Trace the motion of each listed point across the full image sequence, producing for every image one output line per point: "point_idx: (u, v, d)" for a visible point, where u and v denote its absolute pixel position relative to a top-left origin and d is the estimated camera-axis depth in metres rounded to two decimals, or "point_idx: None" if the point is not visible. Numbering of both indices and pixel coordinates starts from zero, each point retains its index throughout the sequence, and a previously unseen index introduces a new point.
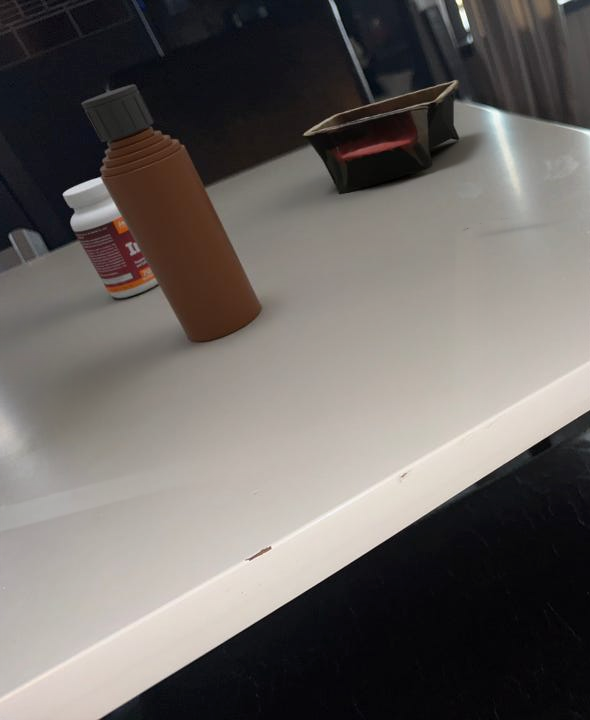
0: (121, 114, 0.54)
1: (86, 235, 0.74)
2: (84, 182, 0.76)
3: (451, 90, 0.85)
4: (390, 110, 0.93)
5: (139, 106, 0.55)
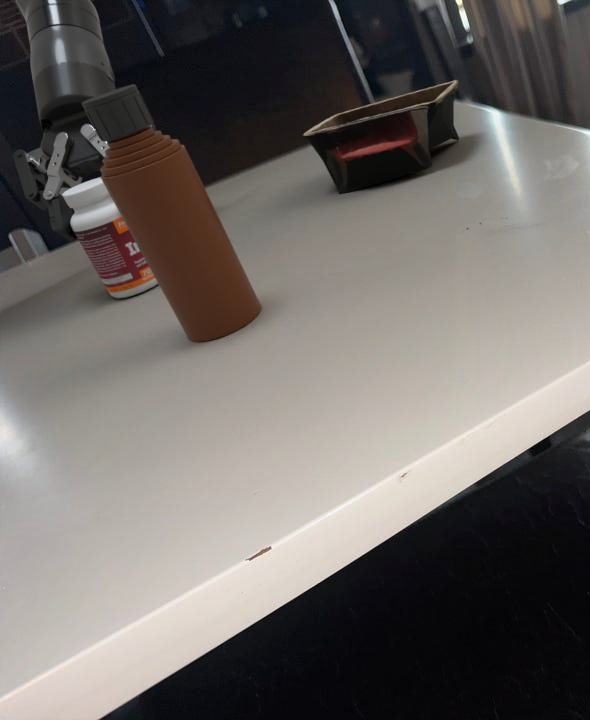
0: (121, 114, 0.54)
1: (86, 235, 0.74)
2: (84, 182, 0.76)
3: (451, 90, 0.85)
4: (390, 110, 0.93)
5: (139, 106, 0.55)
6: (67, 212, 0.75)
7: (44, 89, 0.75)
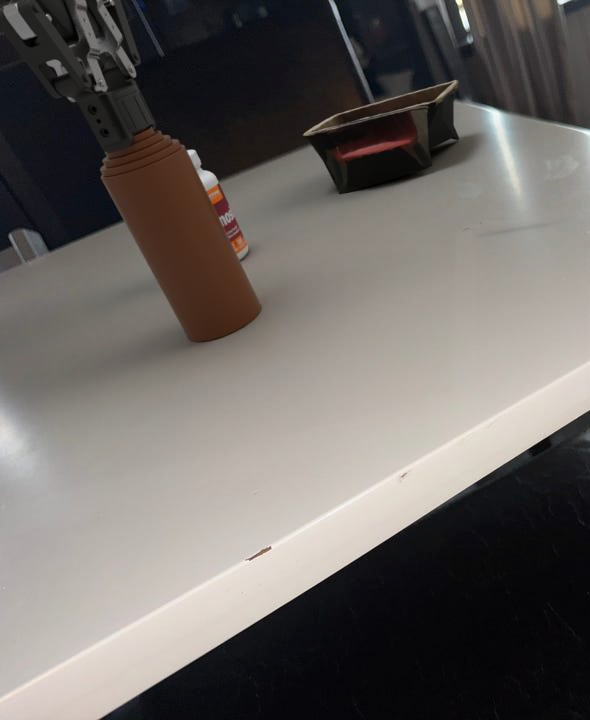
0: None
1: None
2: None
3: (451, 90, 0.85)
4: (390, 110, 0.93)
5: (139, 106, 0.55)
6: None
7: None
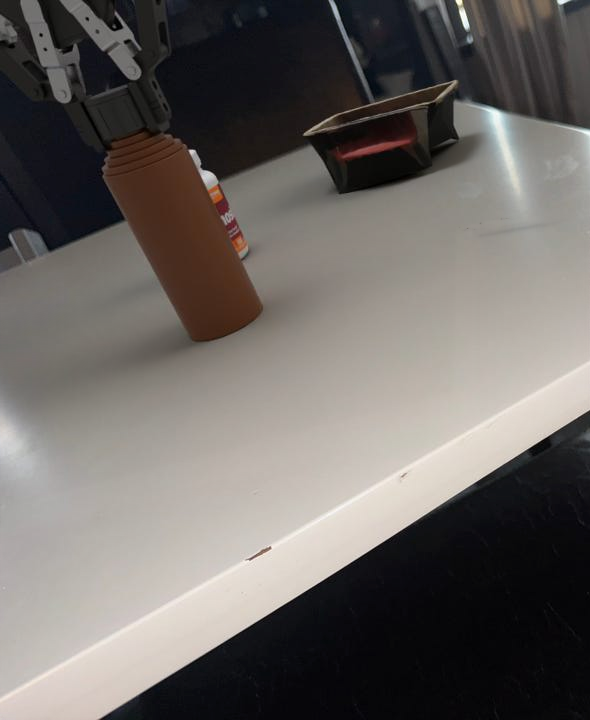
0: None
1: None
2: None
3: (451, 90, 0.85)
4: (390, 110, 0.93)
5: None
6: None
7: None
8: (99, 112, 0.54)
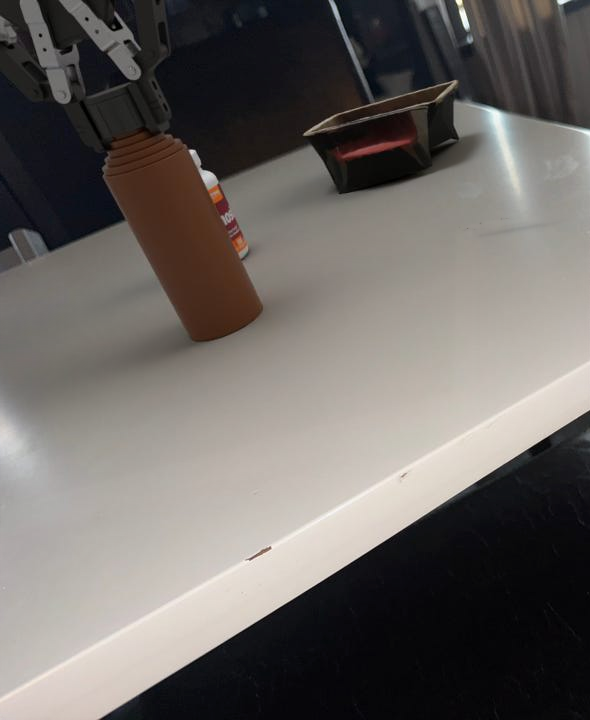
0: None
1: None
2: None
3: (451, 90, 0.85)
4: (390, 110, 0.93)
5: None
6: None
7: None
8: None
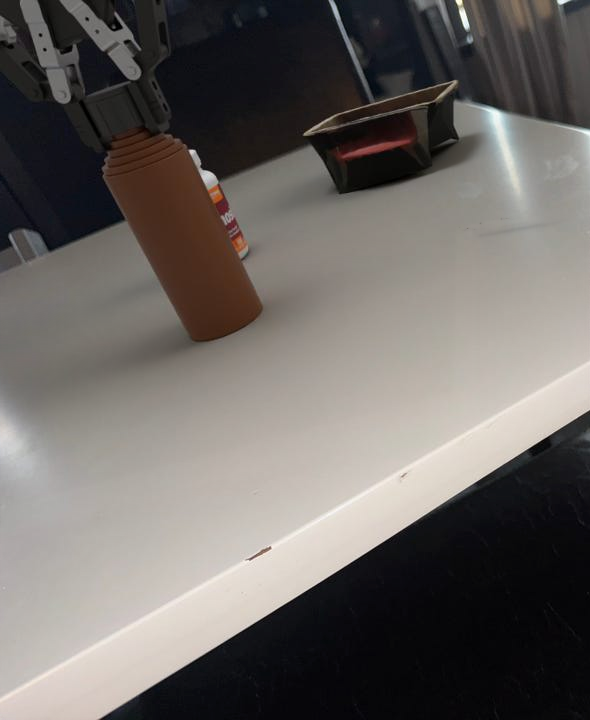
0: None
1: None
2: None
3: (451, 90, 0.85)
4: (390, 110, 0.93)
5: (102, 115, 0.54)
6: None
7: None
8: None
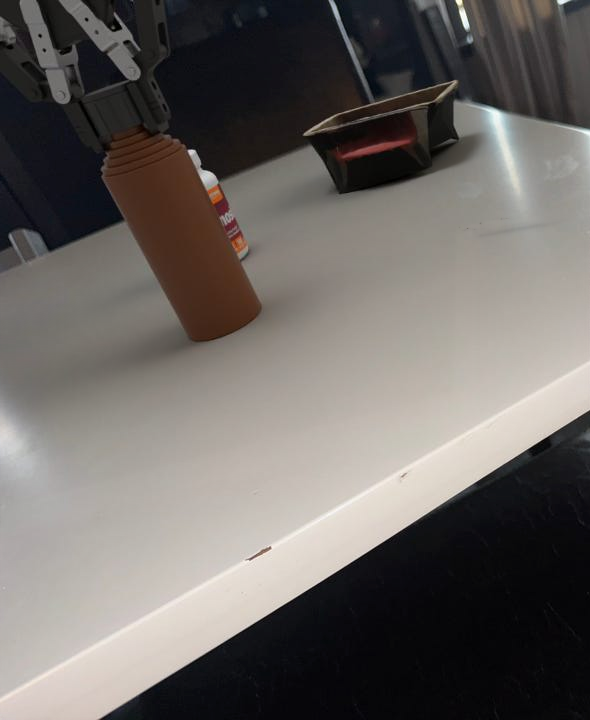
0: (120, 108, 0.54)
1: None
2: None
3: (451, 90, 0.85)
4: (390, 110, 0.93)
5: None
6: None
7: None
8: None
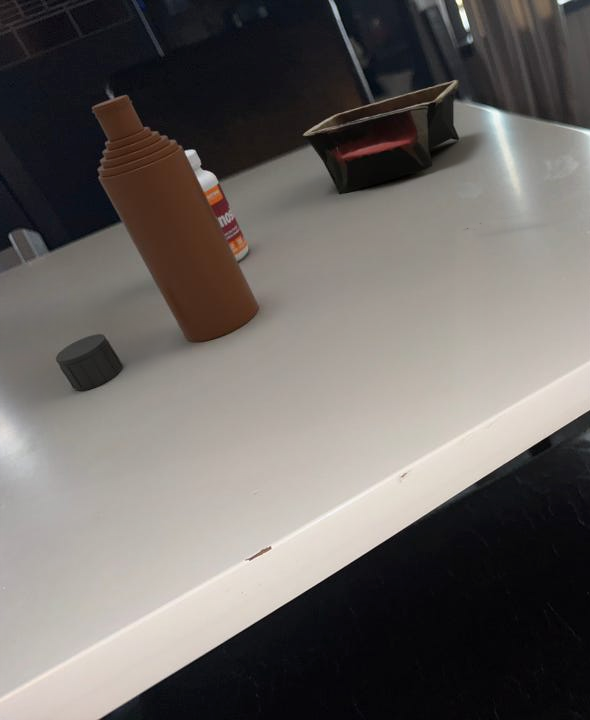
0: None
1: None
2: None
3: (451, 90, 0.85)
4: (390, 110, 0.93)
5: None
6: None
7: None
8: (105, 354, 0.60)
